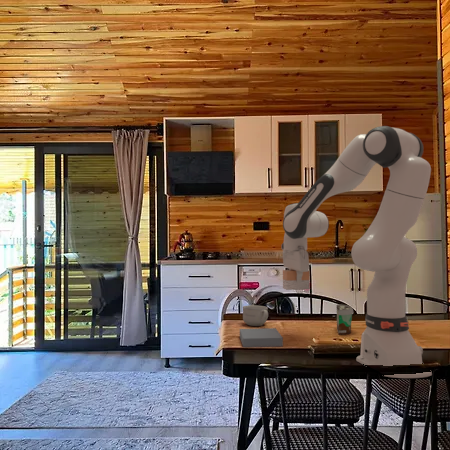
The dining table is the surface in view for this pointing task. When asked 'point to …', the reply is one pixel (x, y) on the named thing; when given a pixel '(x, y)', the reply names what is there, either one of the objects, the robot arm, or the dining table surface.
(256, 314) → the teacup
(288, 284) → the housing base
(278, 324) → the dining table surface
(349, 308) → the food container
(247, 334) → the stand
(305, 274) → the housing cover
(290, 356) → the dining table surface
